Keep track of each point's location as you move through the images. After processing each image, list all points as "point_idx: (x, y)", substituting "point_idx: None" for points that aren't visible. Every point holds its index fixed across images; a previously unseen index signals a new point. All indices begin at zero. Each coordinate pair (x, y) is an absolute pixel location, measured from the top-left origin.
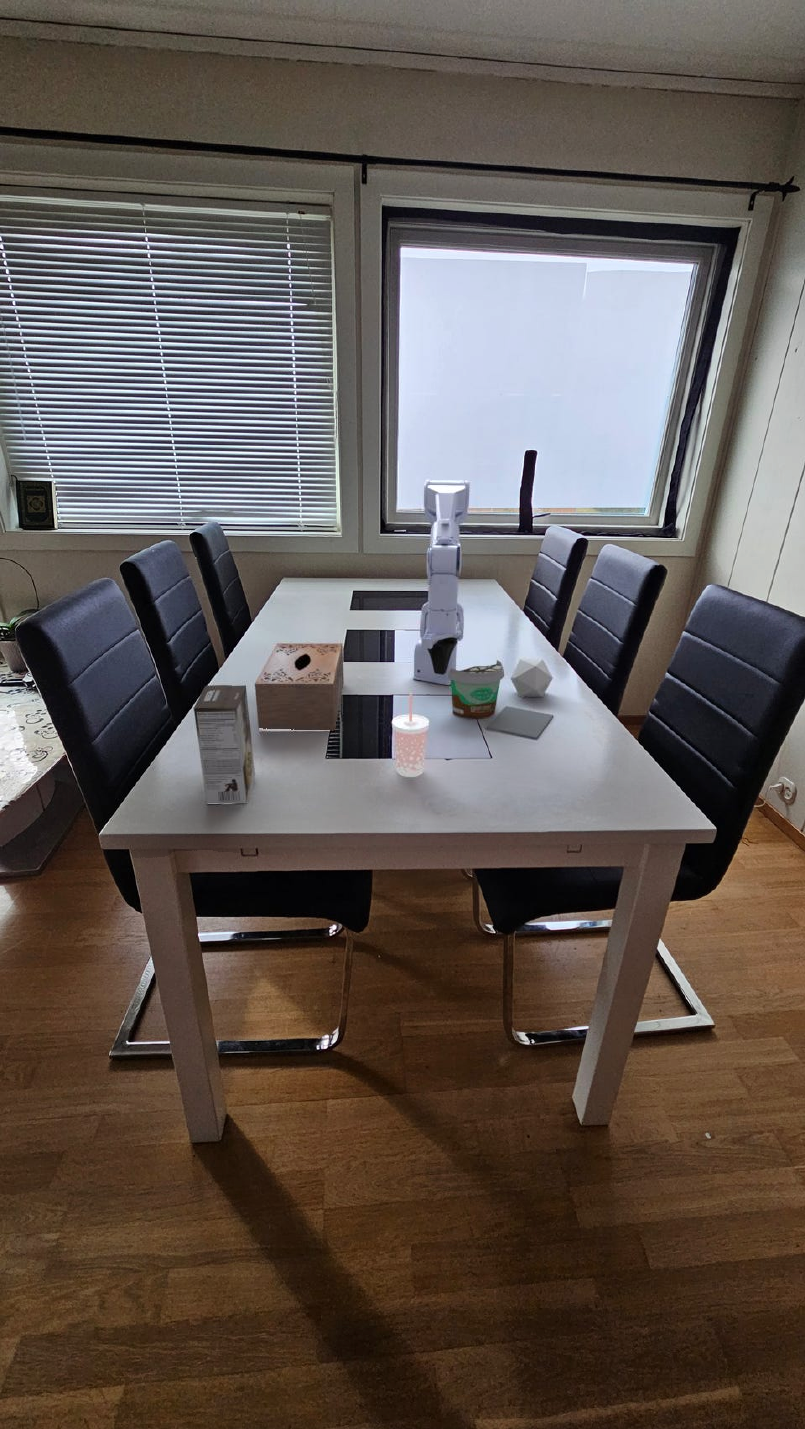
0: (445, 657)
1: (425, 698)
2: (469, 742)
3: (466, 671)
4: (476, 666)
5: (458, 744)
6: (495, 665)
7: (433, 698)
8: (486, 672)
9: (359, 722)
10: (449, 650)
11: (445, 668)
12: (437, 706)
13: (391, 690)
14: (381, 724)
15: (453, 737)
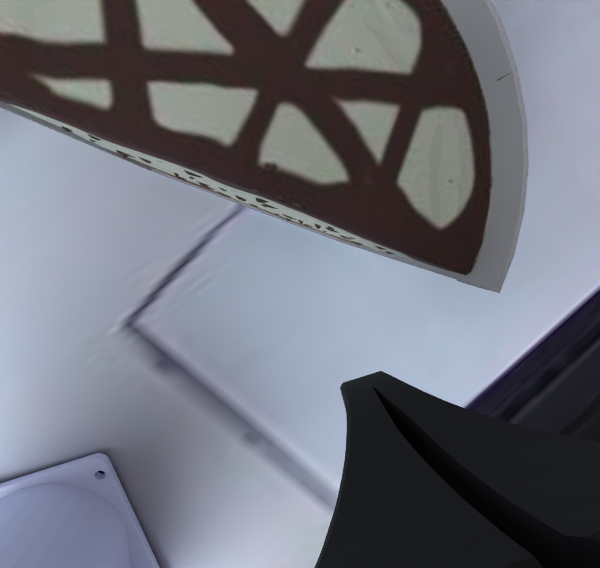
0: (507, 422)
1: (290, 417)
2: (527, 9)
3: (380, 187)
4: (230, 174)
5: (563, 35)
6: (2, 46)
7: (267, 397)
8: (274, 2)
9: (591, 412)
10: (515, 471)
11: (392, 384)
12: (323, 331)
13: (317, 546)
14: (568, 355)
15: (523, 91)
